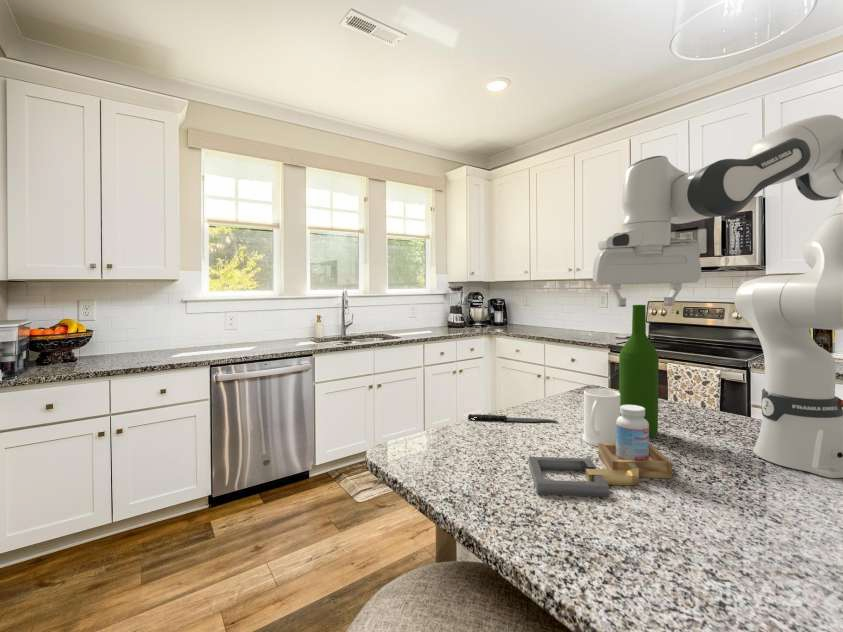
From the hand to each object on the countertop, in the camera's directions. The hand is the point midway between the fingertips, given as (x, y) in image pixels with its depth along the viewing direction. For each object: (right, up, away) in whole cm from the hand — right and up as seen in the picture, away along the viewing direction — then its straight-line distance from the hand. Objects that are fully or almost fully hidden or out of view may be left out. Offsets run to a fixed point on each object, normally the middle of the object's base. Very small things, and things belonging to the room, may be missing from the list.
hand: (645, 306), depth 88 cm
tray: (-3, -33, 0) cm, 33 cm away
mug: (-4, -33, +14) cm, 36 cm away
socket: (-18, -34, -6) cm, 39 cm away
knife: (-20, -32, +32) cm, 50 cm away
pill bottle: (-3, -32, 0) cm, 32 cm away
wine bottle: (+9, -32, +21) cm, 39 cm away
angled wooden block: (-10, -34, -7) cm, 36 cm away
